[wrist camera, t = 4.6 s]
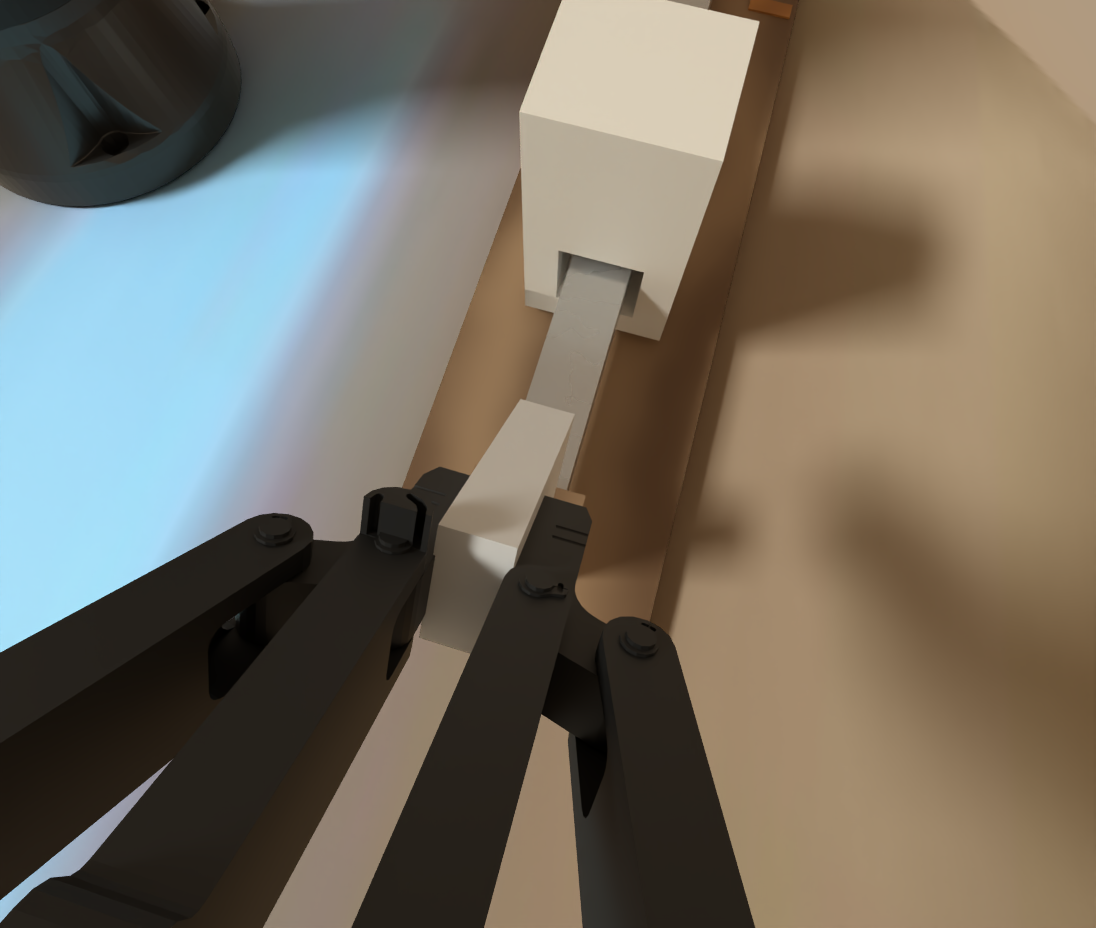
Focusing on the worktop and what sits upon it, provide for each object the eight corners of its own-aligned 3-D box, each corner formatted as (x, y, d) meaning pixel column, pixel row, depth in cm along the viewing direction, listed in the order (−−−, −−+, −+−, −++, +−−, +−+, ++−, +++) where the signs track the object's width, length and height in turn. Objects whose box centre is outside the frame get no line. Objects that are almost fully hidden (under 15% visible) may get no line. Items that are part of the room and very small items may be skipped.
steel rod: (489, 524, 28) (484, 506, 25) (708, -150, 40) (720, -211, 38) (558, 543, 28) (560, 528, 25) (756, -140, 40) (773, -201, 37)
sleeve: (525, 305, 33) (519, 111, 22) (559, 204, 35) (570, -23, 24) (659, 340, 32) (723, 161, 21) (687, 237, 34) (759, 21, 23)
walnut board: (376, 576, 31) (324, 540, 23) (629, -111, 44) (648, -276, 37) (637, 654, 30) (672, 644, 22) (813, -71, 44) (872, -231, 36)
